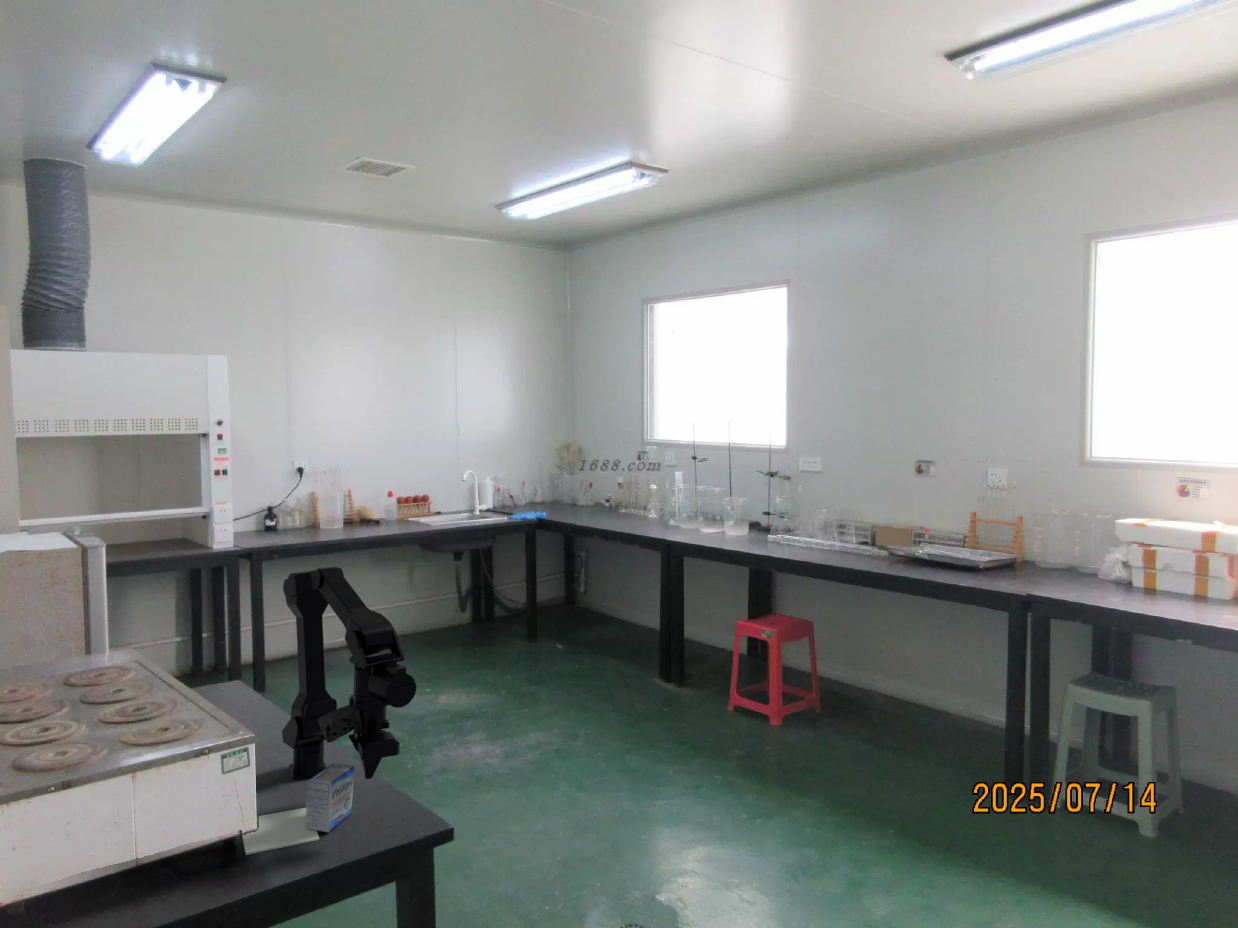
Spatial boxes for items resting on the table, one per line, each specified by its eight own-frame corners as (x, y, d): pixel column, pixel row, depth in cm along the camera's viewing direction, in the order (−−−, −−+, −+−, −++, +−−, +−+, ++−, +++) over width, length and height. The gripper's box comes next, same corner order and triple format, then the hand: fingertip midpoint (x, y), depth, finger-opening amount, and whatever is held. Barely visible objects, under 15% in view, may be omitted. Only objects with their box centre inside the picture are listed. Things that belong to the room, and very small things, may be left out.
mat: (239, 821, 143) (239, 819, 143) (308, 808, 149) (308, 806, 149) (245, 854, 133) (245, 852, 133) (319, 839, 138) (319, 838, 138)
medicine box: (328, 833, 140) (331, 783, 140) (304, 829, 141) (307, 778, 140) (352, 813, 148) (355, 765, 147) (329, 809, 149) (332, 761, 148)
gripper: (313, 681, 151) (312, 765, 152) (332, 715, 134) (330, 809, 135) (376, 674, 156) (374, 755, 157) (401, 706, 140) (399, 796, 141)
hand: (368, 777), depth 147 cm, fingers closed
